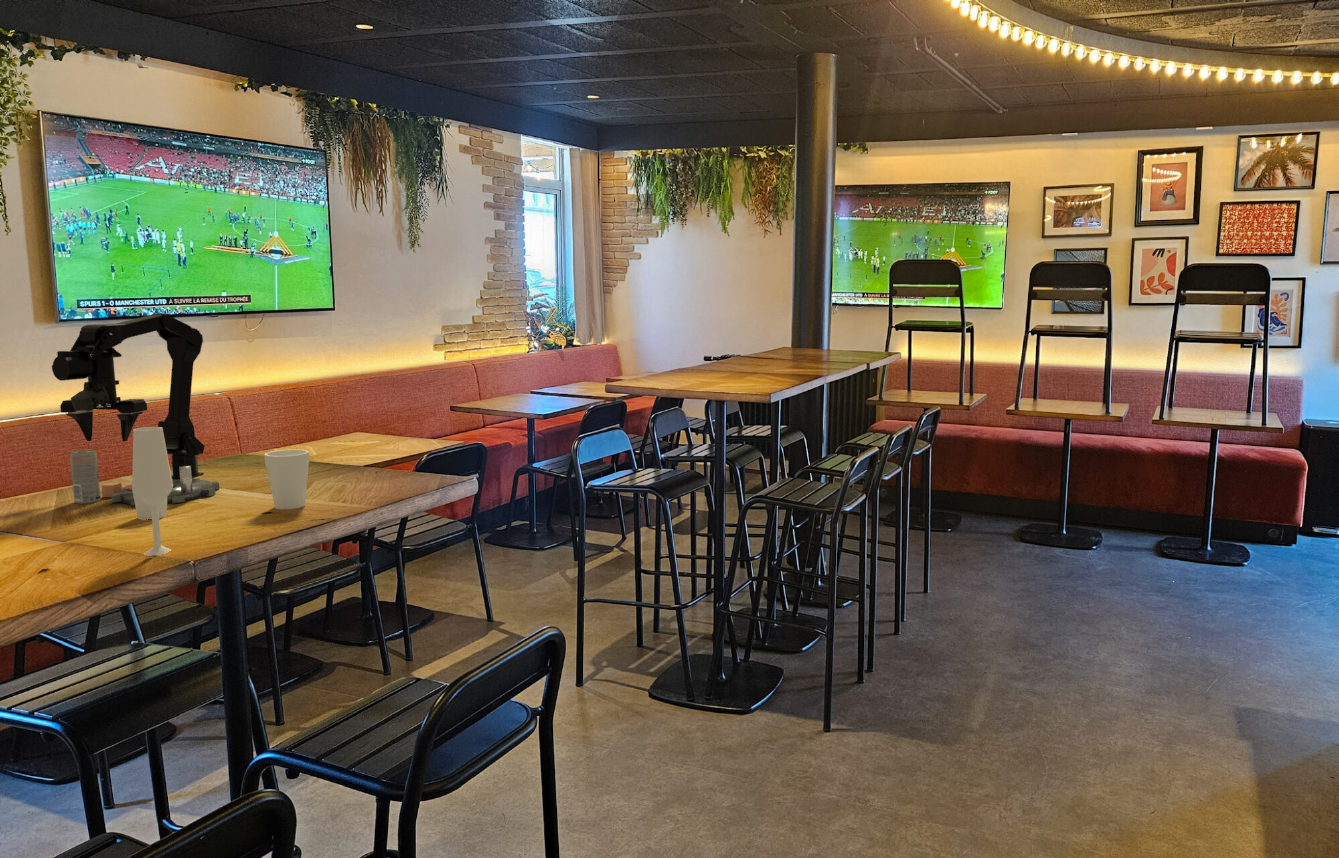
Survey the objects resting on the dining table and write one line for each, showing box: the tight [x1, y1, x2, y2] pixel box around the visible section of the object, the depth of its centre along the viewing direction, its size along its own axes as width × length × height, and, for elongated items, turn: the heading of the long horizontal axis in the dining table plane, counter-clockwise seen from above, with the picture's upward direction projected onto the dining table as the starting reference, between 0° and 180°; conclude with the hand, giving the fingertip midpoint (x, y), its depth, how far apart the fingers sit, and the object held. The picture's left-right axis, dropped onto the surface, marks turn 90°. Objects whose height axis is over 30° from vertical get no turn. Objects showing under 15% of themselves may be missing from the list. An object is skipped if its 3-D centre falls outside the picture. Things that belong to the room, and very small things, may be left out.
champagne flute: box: [131, 426, 173, 556], centre depth 179 cm, size 7×7×24 cm
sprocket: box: [111, 466, 220, 506], centre depth 232 cm, size 23×23×8 cm
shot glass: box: [132, 490, 168, 521], centre depth 211 cm, size 7×7×7 cm
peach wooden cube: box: [100, 482, 123, 498], centre depth 234 cm, size 3×3×3 cm
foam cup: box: [264, 448, 310, 510], centre depth 218 cm, size 10×9×13 cm
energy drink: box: [69, 449, 102, 505], centre depth 228 cm, size 5×5×12 cm
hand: (107, 441), depth 235 cm, fingers open, 9 cm apart
